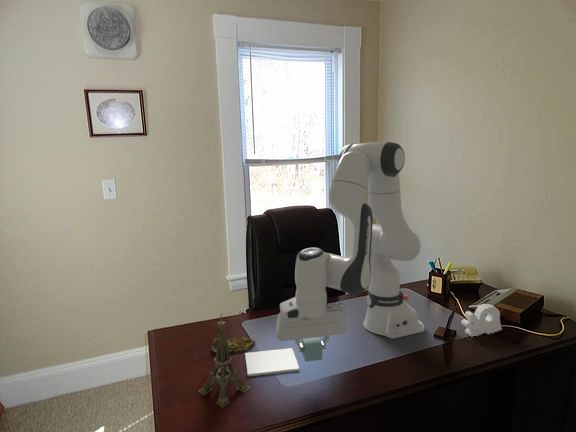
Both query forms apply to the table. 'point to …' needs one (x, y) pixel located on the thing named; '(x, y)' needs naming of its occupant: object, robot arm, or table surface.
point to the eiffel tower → (223, 370)
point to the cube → (312, 349)
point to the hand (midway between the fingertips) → (311, 349)
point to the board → (271, 362)
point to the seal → (236, 345)
